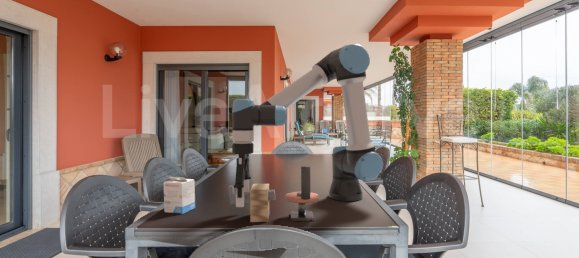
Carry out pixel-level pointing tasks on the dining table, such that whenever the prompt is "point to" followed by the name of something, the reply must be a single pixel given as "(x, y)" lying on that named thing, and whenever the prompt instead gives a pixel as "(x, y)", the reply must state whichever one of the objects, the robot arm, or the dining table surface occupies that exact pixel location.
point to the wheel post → (302, 213)
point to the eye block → (259, 203)
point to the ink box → (179, 195)
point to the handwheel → (303, 189)
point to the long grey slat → (247, 195)
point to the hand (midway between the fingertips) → (242, 201)
